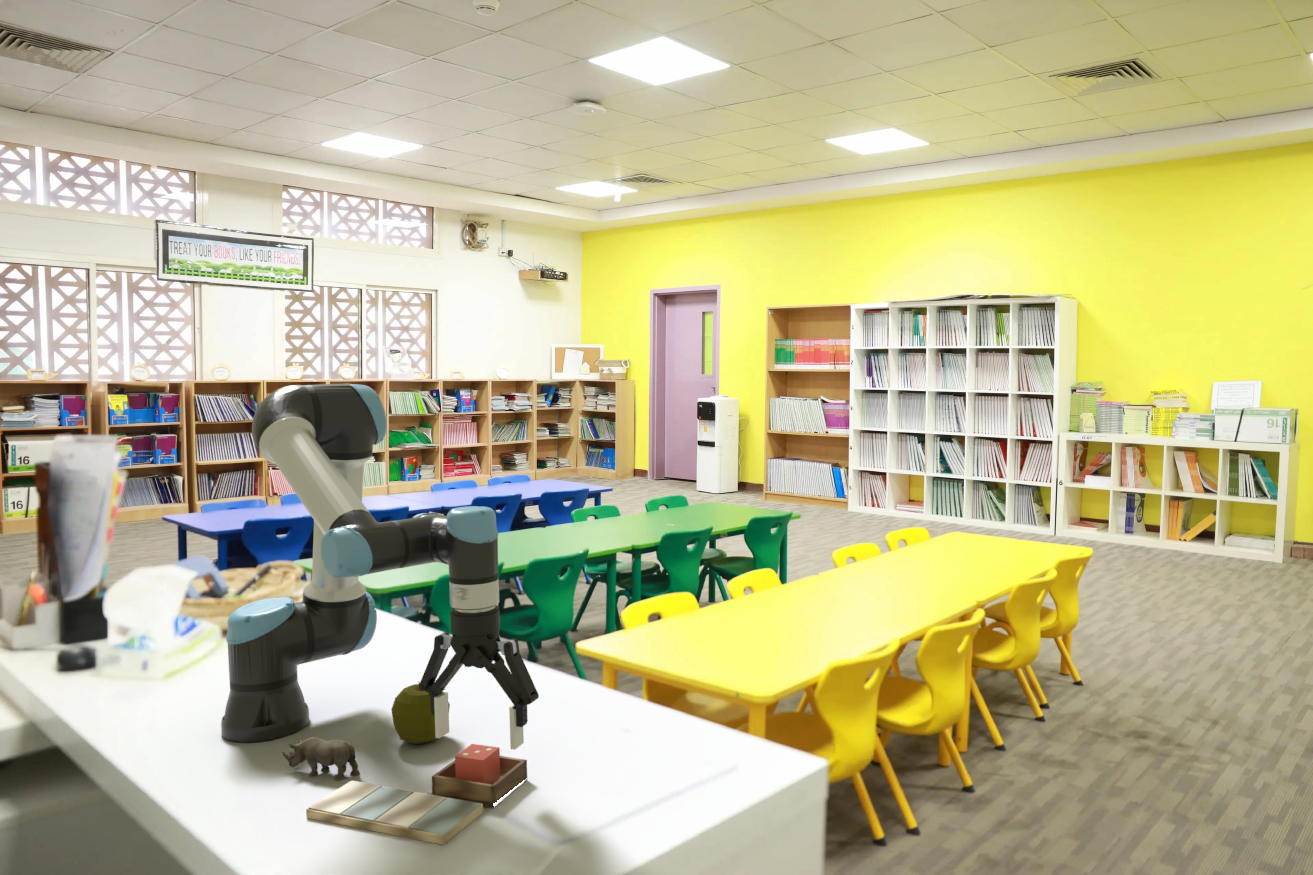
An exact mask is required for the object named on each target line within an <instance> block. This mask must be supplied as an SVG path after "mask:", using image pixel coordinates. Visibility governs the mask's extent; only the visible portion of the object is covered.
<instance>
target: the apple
mask: <svg viewBox="0 0 1313 875" xmlns="http://www.w3.org/2000/svg"><path fill="white" fill-rule="evenodd" d="M419 684H420V682H418V683H416V684H412V685H409V686H405V687H404V688H403V689H402V690H400V692H399V693H398V694H397V695H396V697H395V698H394V701H393V704H392V707H391V715H392V716H391V717H392V722H393V728H394V730H395V732H396V733H397V735H398V737H399V740H402V741H403V742H407V743H410V744H415V745H422V744H426V743H430V742H432V741H434V740H436V739H437V738H436V737H435V715H432V713H431V701H430V695H429V693H428V692H426V691H420V690H419ZM443 692H444V690H443V691H442V693H443ZM450 705H451V704H450V702H449V701H448V707H449V708H450V707H451V706H450Z"/></svg>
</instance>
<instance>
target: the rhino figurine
mask: <svg viewBox="0 0 1313 875" xmlns="http://www.w3.org/2000/svg"><path fill="white" fill-rule="evenodd" d="M288 746H289V747H290V748H291V749H292V750H293V749H294V751H292V750H288V752H289V754H287V753H285V752H284V751H282V752H281V753H282V756H283V757H284V758H285V759H286V760H287V762H288V766H289V767H291V768H294V767H296V766H299V765H301V764H302V763H304V762H305V760H306V761H307V764H308V765H309V767H310V769H311V771H310V772H309V773H308V775H307V776H308V777H309V778H315V777H317V776H318V775H319V772H318V764H320V765H321V769H320V771H321V773H325V772H328V771H329V770H330V767H331V766H334V765H335V766H336V767H337V774H335V776H334V778H333V780H335V781H337V782H338V781H342V780H344V779H345V773H346V771H347V764H349V766H350V768H351V772H349V773H350V774H349V775H350V776H351V777H357V776H359V775H360V771H359V765H358V764H359V763H358V762H357V760H356V758H357V757H356V749H355V747H354V745H353V744H352V743H351V742H349V741H347V740H340V739H332V740H324V739H321V738H319V737H316V736H312V737H309V738H307V739H305V740H302V738H298V740H297V744H294V743H293V744H292V743H289V744H288Z"/></svg>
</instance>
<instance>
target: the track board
mask: <svg viewBox="0 0 1313 875" xmlns="http://www.w3.org/2000/svg"><path fill="white" fill-rule="evenodd" d="M305 810H306V812H305V813H306V818H307V819H313V820H317V821H323V822H328V823H332V824H337V825H343V826H347V827H352V828H357V829H363V830H367V831H373V832H378V833H381V834H387V835H393V836H396V837H402V838H407V839H412V840H416V841H417V840H418V841H423V842H426V843H433V844H435V845H436V844H438V845H443V846H445V845H446V844H447V843H448V842H449V841H451V840H452V839H453V838H454V837H456V836H457V835H458V834H459V833H460V832H461V831H462V830H463V829H465V828H466V827H468V825H469V824H471V823H472V822H473V821H474V820H475V819H477V818H478V817H479V816H480V815H481V814H483V813H484V806H483V804H481V803H476V802H470V801H464V800H459V799H453V798H447V797H442V796H436V795H432V794H429V793H424V792H417V791H413V790H407V789H401V788H396V787H391V786H383V785H379V784H372V783H368V782H362V781H357V780H350V781H348V782H346V783H345V784H344V785H342V786H341V787H339V788H336V790H334V791H333V792H331V793H329V794H328V795H326V796H324V797H323V798H321V799H320V800H317V801H316V802H315V803H313V804H312V805H310V806H308V808H307V809H305Z"/></svg>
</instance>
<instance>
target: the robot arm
mask: <svg viewBox="0 0 1313 875" xmlns="http://www.w3.org/2000/svg"><path fill="white" fill-rule="evenodd" d="M251 422H252V425H251V435H252V439H253V442H254V444H255V447H256V448H257V450H258V451H259V453H260V454H261V456H262V457H263V459H265V461H267V462H269V463H271V464H274V465H276V467H277V468H278V469H279V471H280V472H281V474H282V476H283V477H284V478H285V480H286V481H287V482H288V484H289V486H290V487H291V489H292V491H293V492H294V493H295V494H296V496H297V497H298V499H299V500H300V502H301V504H302V505H303V506H304V507H305V509H306V511H307V512H308V514H309V515H310V516H311V518H312V519H313V540H312V541H313V542H312V543H313V544H312V545H313V546H312V565H311V566H312V567H311V568H312V569H311V570H312V571H311V581H310V582H309V583H308V584H307V585H305V586H304V587H303V589H302V592H303V593H302V600H301V601H298V602H295V601H294V599H293V598H291V597H289V596H275V597H273V598H270V597H268V598H262V599H258V600H255V601H253V602H249V603H247V604H244V605H242V606H240V607H238V608H237V609H235V610H234V611H233V612H231V613H230V615H229V616H228V619H227V621H226V622H227V627H226V628H227V630H226V631H227V632H226V637H225V638H226V643H227V651H228V652H227V656H228V658H227V659H228V675H229V677H228V678H229V695H228V696H227V697H228V698H227V702H226V705H225V711H224V715H223V716H222V717H221V721H220V722H221V724H220V726H221V727H220V728H221V730H220V731H221V737H223V738H224V739H226V740H228V741H231V742H238V743H239V742H241V743H252V742H256V743H257V742H263V741H269V740H275V739H278V738H283V737H285V736H289V735H291V734H293V733H296V732H299V731H300V730H301V729H303V728H304V727H306V726H307V725H308V724H309V722H310V710H309V705H308V703H307V702H306V701H305V696H304V694H303V691H302V689H301V686H300V683H299V680H298V666H299V665H301V664H302V665H303V664H307V663H311V662H315V661H320V660H324V659H328V658H332V657H336V656H341V655H342V656H345V655H348V654H350V653H352V652H354V651H359V650H362V649H363V648H365V647H366V646H367V645H368V644H370V642H371V640H372V639H373V637H374V634H375V632H376V627H377V620H378V613H377V609H376V608H375V607H376V602H375V600H374V598H373V596H372V595H371V593H369V592H368V591H367V590H366V589H367V588H366V586H365V585H364V584H363V583H362V582H361V581H360V580H359V577H363V576H365V575H366V576H367V575H371V574H375V573H382V572H386V571H390V570H396V569H405V568H409V567H416V566H420V565H426V564H431V563H432V564H433V563H439V564H443V565H448V582H449V606H450V607H451V608H452V609H451V610H450V611H449V612H450V614H449V615H450V616H449V618H450V619H449V620H450V632H451V634H452V635H450V633H449V632H448V631H444V632H443V633H440V634H438V635H436V636H435V637H434V641H433V642H434V643H433V650H432V653H431V655H430V658H429V659H428V662H427V665H426V668H425V669H424V672H423V674H422V676H421V679H420V681H419V683H420V684H419V683H418V684H419V690H420V691H426V692H428V693H429V695H430V701H431V713H432V715H435V737H436V739H441V738H442V737H444V736H446V735H447V734H449V733H450V706H449V707H448V702H449V692H448V691H445V690H446V687H447V686H448V685H449V683H450V682H451V681H452V679H453V678H454V677H455V675H456V674H457V673H458V672H459V670H460V669H461V668H462V666H464V667H465V668H466V667H467V668H470V667H474V668H477V669H484V668H485V670H486V671H487V672H488V673H490V674H491V675H492V676H493V678H494V679H495V681H496V682H497V683H498V684H499V687H501V689H502V690H503V692H504V694H506V696H507V697H508V698H509V700H510V701H511V703H512V705H510V707H508V708H509V739H510V740H509V741H510V742H509V743H510V745H509V747H510V750H515V751H516V749H518V748H519V747H520V746H521V745H523V744H525V742H524V738H525V737H524V726H525V725H527V723H528V721H529V720H528V705H531V704H532V703H533V702H535V701H536V700H538V699H539V693H538V691H537V688H536V686H535V684H534V682H533V680H532V677H531V675H530V672H529V671H528V669H527V667H526V664H525V662H524V659H523V657H522V654H521V653H520V647H519V646H520V645H519V640H518V639H517V638H512V639H510V640H501V638H500V629H501V617H500V615H501V614H500V613H501V612H500V607H499V606H498V604H499V603H500V588H499V587H500V584H499V544H498V542H499V541H498V540H499V539H498V538H499V537H498V536H499V530H498V529H497V515H496V511H495V510H493V508H491V507H488V506H485V505H484V506H477V505H472V506H471V505H468V506H461V507H460V506H459V507H455V508H451V509H450V510H449V511H448V512H447V514H446V515H443V514H442V513H438V512H422V513H417V514H416V515H414V516H412V517H411V518H404V519H398V520H397V519H396V520H388V521H383V522H382V521H381V522H379V521H377V520H376V519H375V517H374V516H373V515H372V513H371V512H370V511H369V509H368V508H367V507H366V505H364V503H363V485H364V484H363V483H364V465H365V463H367V462H368V461H369V460H370V459H371V458H372V457H373V451H374V450H373V448H374V446H375V445H378V444H380V443H382V442H383V441H384V437H385V436H386V433H387V425H388V424H387V416H386V411H385V408H384V404H383V402H382V400H381V398H380V397H379V395H378V393H377V392H376V390H374V388H371V387H370V386H368V385H365V384H357V383H356V384H355V383H353V384H352V383H348V382H347V383H324V384H323V383H322V384H303V385H302V384H292V385H291V384H290V385H286V386H283V387H280V388H278V389H276V390H274V391H272V392H271V393H269V394H268V395H267V396H265V398H264V399H262V400H261V402H260V403H259V405H258V407H257V408H256V409H255V412H254V414H253V418H252V421H251ZM450 647H451V648H452V650H453V651H454V653H455V654H453V656H452V657H451V659H450V660H449V661H448V663H447V666H446V667H445V668H444V669H443V671H442V672H441V674H440V675H439V673H440V671H441V668H442V665H443V663H444V661H445V658H446V656H447V653H448V652H449V648H450ZM500 651H501V654H500V653H499V652H500ZM503 656H504V658H503ZM493 662H494V663H493ZM505 662H506V664H507V665H506V664H505ZM437 677H438V678H437ZM442 691H443V693H442Z"/></svg>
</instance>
